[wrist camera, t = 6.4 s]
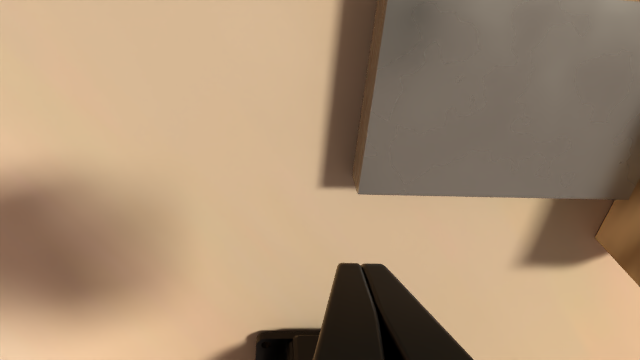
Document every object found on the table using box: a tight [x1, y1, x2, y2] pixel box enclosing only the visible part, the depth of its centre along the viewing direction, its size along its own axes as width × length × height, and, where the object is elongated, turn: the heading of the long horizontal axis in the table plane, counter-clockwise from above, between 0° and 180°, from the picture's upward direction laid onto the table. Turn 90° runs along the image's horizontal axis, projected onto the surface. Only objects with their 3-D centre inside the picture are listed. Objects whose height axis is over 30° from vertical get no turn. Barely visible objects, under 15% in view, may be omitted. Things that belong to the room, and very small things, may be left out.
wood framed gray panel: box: [352, 0, 640, 200], centre depth 18 cm, size 8×12×2 cm, turn 85°
